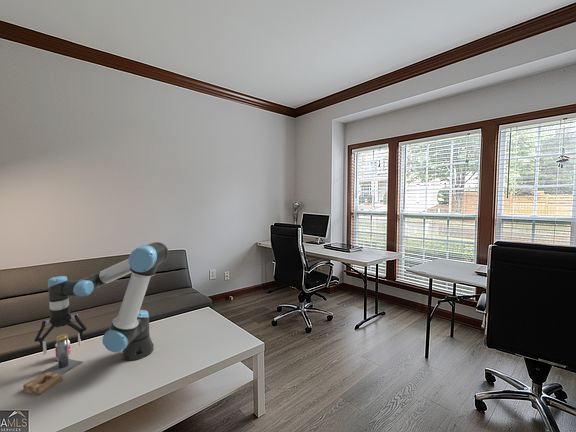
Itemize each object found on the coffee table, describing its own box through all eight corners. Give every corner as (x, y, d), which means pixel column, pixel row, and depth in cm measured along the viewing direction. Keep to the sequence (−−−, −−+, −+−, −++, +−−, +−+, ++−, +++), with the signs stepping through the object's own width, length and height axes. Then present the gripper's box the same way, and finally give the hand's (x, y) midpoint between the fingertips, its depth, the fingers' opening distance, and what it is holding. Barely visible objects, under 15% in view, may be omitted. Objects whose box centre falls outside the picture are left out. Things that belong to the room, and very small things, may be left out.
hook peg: (69, 362, 142) (68, 332, 141) (68, 366, 138) (67, 336, 137) (58, 365, 139) (56, 335, 138) (56, 369, 135) (55, 339, 135)
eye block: (62, 380, 128) (62, 374, 128) (39, 395, 119) (39, 388, 119) (47, 377, 130) (47, 371, 130) (23, 391, 121) (23, 385, 121)
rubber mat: (82, 362, 143) (82, 361, 142) (60, 375, 132) (60, 374, 132) (66, 359, 145) (66, 358, 145) (43, 372, 135) (43, 371, 135)
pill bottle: (70, 358, 146) (68, 338, 146) (55, 362, 143) (53, 341, 142) (71, 353, 151) (70, 333, 151) (57, 356, 148) (55, 337, 147)
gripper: (90, 300, 147) (93, 338, 148) (28, 311, 133) (31, 353, 135) (89, 304, 140) (92, 344, 142) (23, 316, 127) (27, 360, 128)
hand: (62, 349), depth 138 cm, fingers open, 13 cm apart
